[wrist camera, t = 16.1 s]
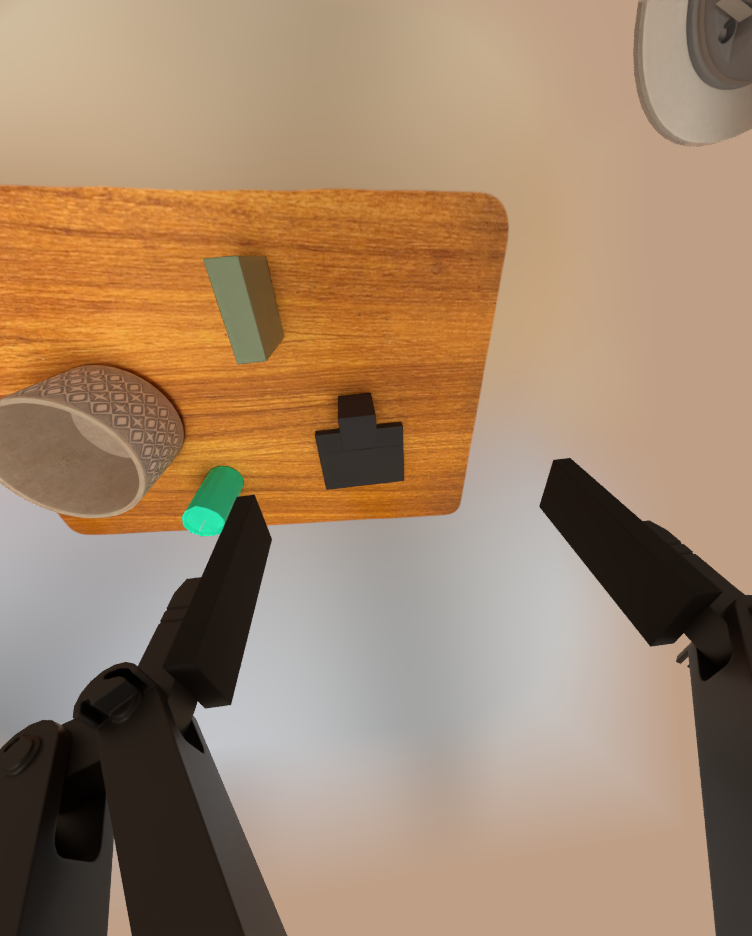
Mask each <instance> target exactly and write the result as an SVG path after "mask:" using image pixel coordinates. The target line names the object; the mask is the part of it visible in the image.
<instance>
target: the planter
mask: <svg viewBox="0 0 752 936" xmlns="http://www.w3.org/2000/svg"><path fill="white" fill-rule="evenodd" d="M183 441H184V429H183V425H182V422H181V419H180V417H179V415H178V413H177V411H176V410H175V408H174V407H173V405H172V404H171V403H170V401H169V400H168V399H167V398H166V397H165V396H164V395H163V394H162V393H161V392H160V391H159V390H158V389H156V388H155V387H154V386H152V385H151V384H150V383H148V382H147V381H145V380H143V379H142V378H140V377H138V376H136V375H134V374H132V373H130V372H127V371H124V370H121V369H118V368H114V367H109V366H103V365H86V366H80V367H76V368H73V369H71V370H68V371H66V372H63V373H61V374H59V375H56V376H54V377H51V378H49V379H47V380H44V381H42V382H39V383H37V384H34V385H32V386H30V387H27V388H25V389H22V390H20V391H18V392H15V393H13V394H10V395H8V396H5V397H3V398H1V399H0V483H1V484H2V485H3V486H5V487H6V488H8V489H9V490H11V491H12V492H13V493H15V494H17V495H19V496H20V497H22V498H24V499H25V500H27V501H29V502H31V503H33V504H36V505H38V506H40V507H43V508H45V509H48V510H51V511H54V512H58V513H61V514H65V515H70V516H75V517H84V518H103V517H111V516H115V515H119V514H121V513H124V512H126V511H128V510H129V509H131V508H133V507H134V506H135V505H136V504H137V503H138V502H139V501H140V500H141V499H142V497H143V496H144V495H145V494H146V493H147V491H148V490H149V489H150V488H151V487H152V485H153V484H154V483H155V482H156V480H157V479H158V478H159V477H160V476H161V474H162V473H163V472H164V471H165V470H166V468H167V467H168V466H169V465H170V464H171V462H172V461H173V460H174V459H175V458H176V456H177V455H178V454H179V452H180V450H181V448H182V445H183Z"/></svg>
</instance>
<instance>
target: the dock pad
mask: <svg viewBox="0 0 752 936" xmlns="http://www.w3.org/2000/svg"><path fill="white" fill-rule="evenodd" d="M377 437H378V447H374V448H366V449H357V450H348V451H343V448H342V442H341V436H340V429H332V430H323V431H316V432H315V438H316V443H317V447H318V452H319V457H320V461H321V466H322V471H323V476H324V480H325V485H326V490H329V489H337V488H346V487H354V486H363V485H372V484H380V483H389V482H397V481H404V454H403V426H402V423H401V422H396V423H387V424H378V425H377Z"/></svg>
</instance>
